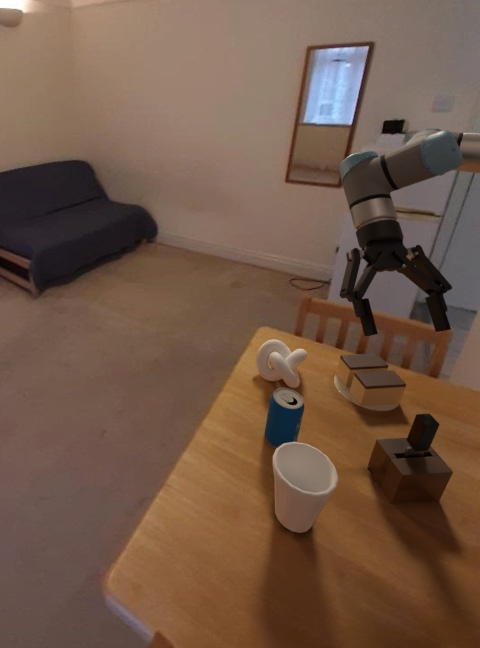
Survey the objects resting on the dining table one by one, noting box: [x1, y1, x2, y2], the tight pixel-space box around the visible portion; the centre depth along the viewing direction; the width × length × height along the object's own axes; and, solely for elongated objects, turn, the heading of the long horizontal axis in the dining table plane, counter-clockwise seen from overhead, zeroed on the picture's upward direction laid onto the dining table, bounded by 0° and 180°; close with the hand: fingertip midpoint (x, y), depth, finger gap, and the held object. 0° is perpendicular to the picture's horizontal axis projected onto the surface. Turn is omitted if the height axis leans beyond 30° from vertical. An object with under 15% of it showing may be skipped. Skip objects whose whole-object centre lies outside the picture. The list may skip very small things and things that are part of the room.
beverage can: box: [264, 387, 305, 448], centre depth 84 cm, size 6×6×12 cm
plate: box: [333, 374, 400, 412], centre depth 98 cm, size 14×14×1 cm
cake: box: [335, 352, 407, 407], centre depth 96 cm, size 9×11×6 cm
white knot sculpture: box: [255, 339, 308, 389], centre depth 102 cm, size 11×12×9 cm
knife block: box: [366, 437, 454, 505], centre depth 75 cm, size 9×7×8 cm
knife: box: [402, 413, 440, 458], centre depth 73 cm, size 3×2×17 cm
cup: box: [272, 441, 339, 534], centre depth 69 cm, size 10×10×13 cm
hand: (407, 333), depth 73 cm, fingers open, 13 cm apart
